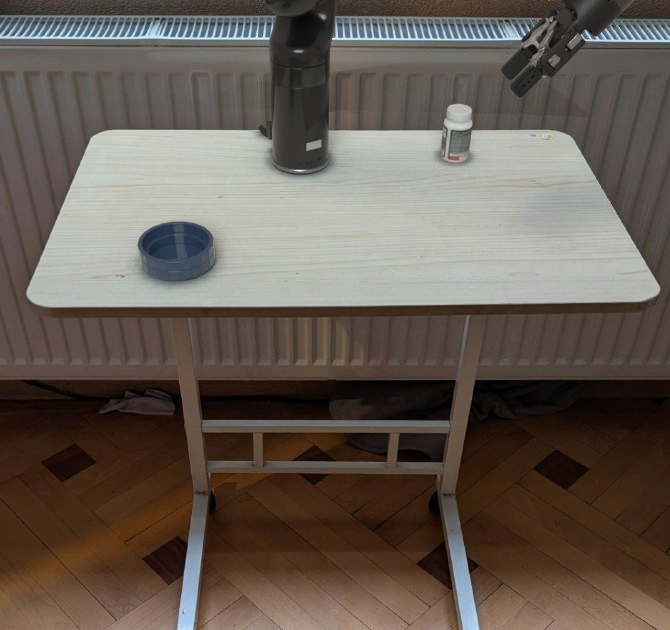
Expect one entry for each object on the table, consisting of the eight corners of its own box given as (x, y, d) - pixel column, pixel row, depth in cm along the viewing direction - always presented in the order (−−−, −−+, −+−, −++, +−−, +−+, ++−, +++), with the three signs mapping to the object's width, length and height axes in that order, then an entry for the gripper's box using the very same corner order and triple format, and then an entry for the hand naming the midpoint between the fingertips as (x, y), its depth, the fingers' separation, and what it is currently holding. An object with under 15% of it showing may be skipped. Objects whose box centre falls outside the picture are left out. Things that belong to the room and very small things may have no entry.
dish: (134, 250, 118) (130, 228, 115) (204, 237, 121) (202, 215, 118) (150, 290, 111) (146, 268, 109) (223, 275, 114) (222, 253, 112)
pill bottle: (473, 156, 140) (480, 108, 135) (457, 166, 138) (463, 118, 132) (450, 147, 143) (456, 99, 137) (434, 156, 140) (439, 109, 134)
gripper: (574, -42, 112) (484, 52, 119) (600, -25, 100) (498, 78, 107) (609, -1, 115) (518, 88, 122) (638, 20, 103) (536, 118, 110)
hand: (509, 83), depth 114 cm, fingers open, 8 cm apart
